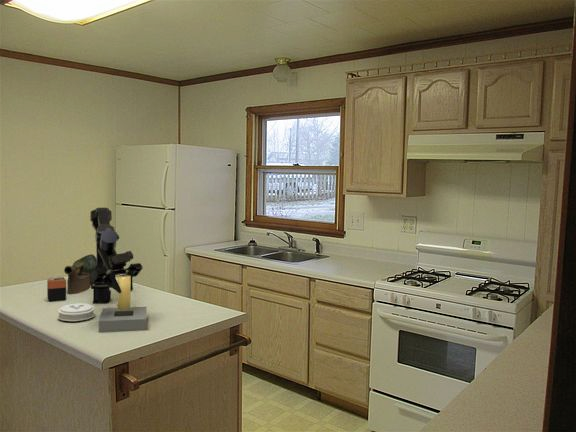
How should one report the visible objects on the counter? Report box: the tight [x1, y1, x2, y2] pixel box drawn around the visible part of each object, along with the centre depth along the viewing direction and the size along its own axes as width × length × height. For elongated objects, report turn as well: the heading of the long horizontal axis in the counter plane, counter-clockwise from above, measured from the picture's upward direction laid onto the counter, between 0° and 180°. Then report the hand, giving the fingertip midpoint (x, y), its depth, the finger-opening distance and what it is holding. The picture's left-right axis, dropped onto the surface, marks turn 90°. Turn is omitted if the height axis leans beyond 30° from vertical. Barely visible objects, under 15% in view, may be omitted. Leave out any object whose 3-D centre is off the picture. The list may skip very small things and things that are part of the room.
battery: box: [46, 275, 67, 303], centre depth 208 cm, size 4×7×10 cm, turn 124°
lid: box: [57, 302, 95, 322], centre depth 185 cm, size 13×13×5 cm
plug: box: [117, 274, 132, 310], centre depth 179 cm, size 4×4×12 cm
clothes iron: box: [63, 262, 91, 295], centre depth 223 cm, size 8×16×13 cm, turn 0°
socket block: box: [98, 306, 148, 333], centre depth 180 cm, size 16×16×4 cm
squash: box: [71, 253, 97, 284], centre depth 239 cm, size 14×15×15 cm
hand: (126, 291), depth 178 cm, fingers closed on plug, 4 cm apart
